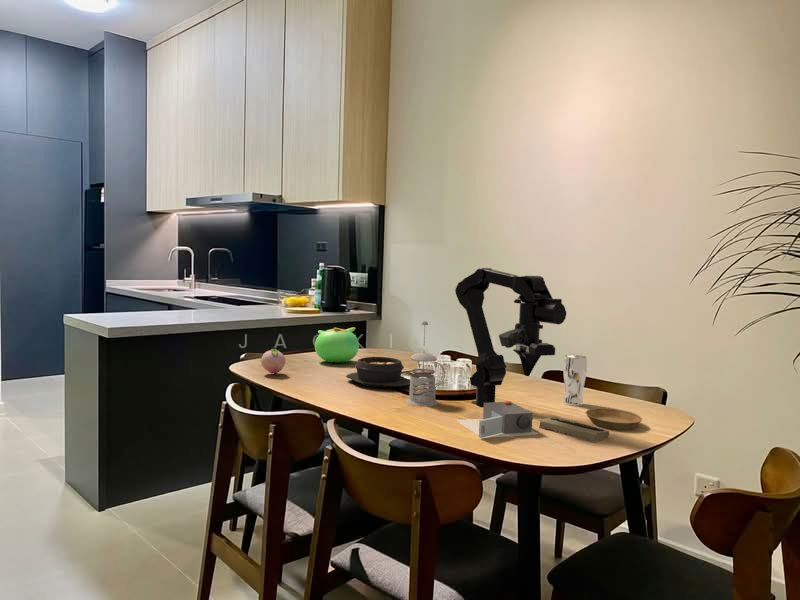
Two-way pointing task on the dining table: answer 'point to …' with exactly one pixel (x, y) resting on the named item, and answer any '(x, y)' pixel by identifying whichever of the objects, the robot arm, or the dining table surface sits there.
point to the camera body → (509, 416)
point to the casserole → (379, 372)
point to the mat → (474, 427)
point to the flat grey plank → (574, 429)
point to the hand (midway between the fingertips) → (526, 375)
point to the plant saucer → (613, 418)
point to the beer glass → (574, 379)
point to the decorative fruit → (273, 361)
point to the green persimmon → (337, 345)
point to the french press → (423, 380)
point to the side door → (491, 426)
